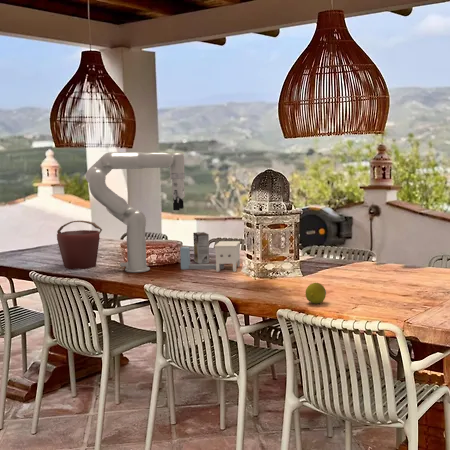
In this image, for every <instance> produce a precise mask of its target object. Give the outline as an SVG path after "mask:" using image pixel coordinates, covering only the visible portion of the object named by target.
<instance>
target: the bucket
mask: <svg viewBox="0 0 450 450" xmlns="http://www.w3.org/2000/svg"><path fill="white" fill-rule="evenodd" d="M72 223H84V224H87V225H91V226H93V228H95V229H98V230H93V229H92V230H90V229H87V230H86V229H84V230H83V229H80V230H70V231H68V230H67V231H62V230H63V229H64V228H65V227H67V226H68V225H70V224H72ZM61 231H62V232H61ZM102 231H103V229H102V227H100V226H99V225H98V224H97V223H96V222H93V221H90V220H89V221H88V220H72V221H70V222H67V223H65V224H63V225H61V226H60V227H59V228H58V230H57V231H56V232H57V233H56V240H57V245H58V248H59V252H60V255H61V260H62V264H63V266H64V267H63V268H64V269H67V270H86V269H91V268H96V267H97V260H98V251H99V246H100V245H99V244H100V236H101V233H102Z"/></svg>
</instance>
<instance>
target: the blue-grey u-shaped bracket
mask: <svg viewBox="0 0 450 450" xmlns="http://www.w3.org/2000/svg"><path fill="white" fill-rule="evenodd" d="M219 266H220V270H224V269H225V264H219ZM180 269H181V270H216V263H215V264H213V263H205V264H198V263H194V264H193V263H191V251H190V246H181V247H180Z"/></svg>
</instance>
